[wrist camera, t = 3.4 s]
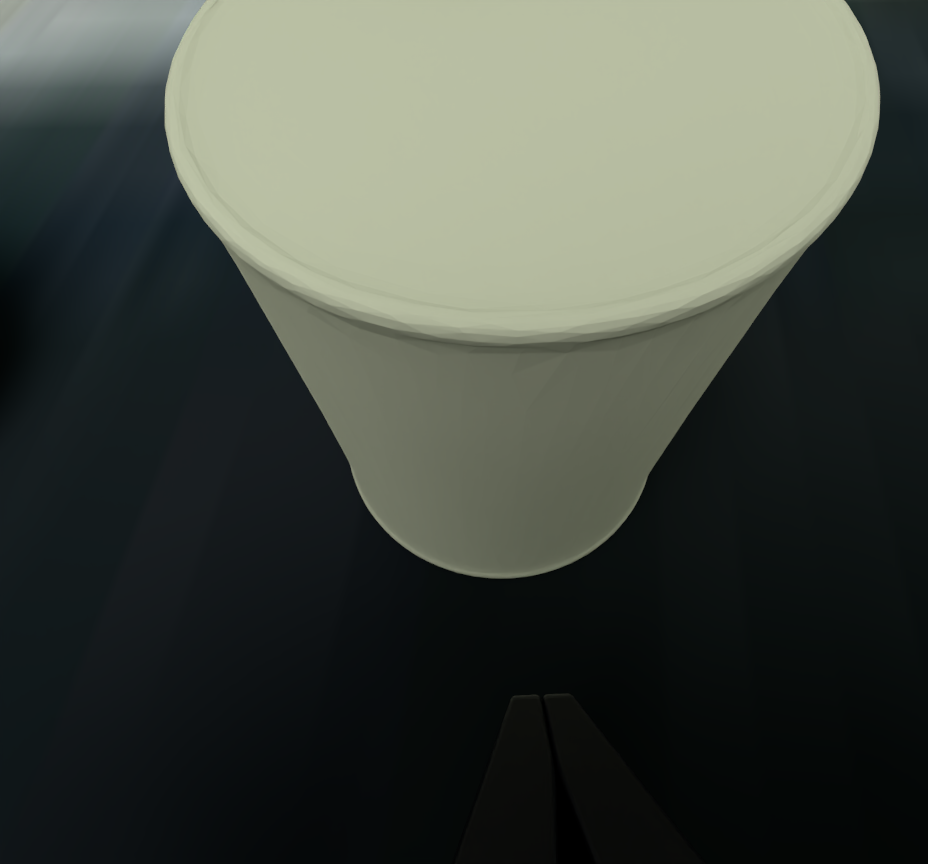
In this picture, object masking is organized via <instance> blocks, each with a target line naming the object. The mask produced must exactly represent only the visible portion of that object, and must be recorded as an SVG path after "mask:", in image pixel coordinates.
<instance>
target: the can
mask: <svg viewBox="0 0 928 864" xmlns="http://www.w3.org/2000/svg"><path fill="white" fill-rule="evenodd" d="M879 110H880V89H879V81H878V74H877V68H876V64H875V61H874V58H873V55H872V52H871V49H870V46H869V44H868V41H867V38H866V36H865V34H864V31H863V29H862V27H861V25H860V24H859V22H858V21H857V19H856V17H855V16H854V14H853V13H852V11H851V9H850V8H849V6H848V5H847V3H846V2H845V1H844V0H207V1H206V2H205V3H204V4H203V6H202V7H201V8H200V10H199V11H198V13H197V14H196V15H195V17H194V18H193V20H192V21H191V23H190V25H189V27H188V29H187V30H186V32H185V34H184V36H183V38H182V40H181V42H180V44H179V47H178V49H177V51H176V53H175V55H174V58H173V60H172V64H171V68H170V72H169V76H168V81H167V85H166V91H165V129H166V135H167V140H168V145H169V150H170V154H171V157H172V160H173V163H174V166H175V169H176V172H177V175H178V178H179V180H180V181H181V183H182V185H183V187H184V189H185V191H186V192H187V194H188V196H189V198H190V200H191V202H192V203H193V205H194V206H195V208H196V209H197V211H198V212H199V214H200V215H201V217H202V218H203V220H204V221H205V222H206V224H207V225H208V226H209V227H210V228H211V229H212V230H213V232H214V233H215V234H216V235H217V236H218V237H219V239H220V240H221V241H222V243H223V244H224V246H225V247H226V249H227V250H228V252H229V254H230V255H231V257H232V258H233V260H234V262H235V263H236V265H237V266H238V268H239V270H240V272H241V273H242V275H243V277H244V279H245V280H246V282H247V284H248V285H249V287H250V289H251V291H252V292H253V294H254V296H255V298H256V299H257V301H258V303H259V304H260V306H261V308H262V310H263V311H264V313H265V315H266V317H267V318H268V320H269V322H270V323H271V325H272V327H273V329H274V330H275V332H276V334H277V336H278V337H279V339H280V341H281V342H282V344H283V346H284V348H285V349H286V351H287V353H288V355H289V356H290V358H291V360H292V361H293V363H294V365H295V367H296V368H297V370H298V372H299V374H300V375H301V377H302V379H303V380H304V382H305V384H306V386H307V387H308V389H309V391H310V392H311V394H312V396H313V398H314V399H315V401H316V403H317V405H318V406H319V408H320V410H321V411H322V413H323V415H324V417H325V419H326V421H327V422H328V424H329V426H330V428H331V430H332V432H333V433H334V435H335V437H336V439H337V441H338V443H339V444H340V446H341V448H342V450H343V452H344V454H345V455H346V457H347V459H348V461H349V463H350V466H351V470H352V474H353V477H354V480H355V483H356V486H357V488H358V490H359V493H360V495H361V497H362V499H363V501H364V503H365V504H366V506H367V508H368V509H369V511H370V512H371V514H372V515H373V516H374V518H375V519H376V520H377V522H378V523H379V524H380V525H381V526H382V527H383V529H384V530H385V531H386V532H387V533H388V534H389V535H390V536H391V537H392V538H393V539H395V540H396V541H397V542H398V543H400V544H401V545H402V546H403V547H405V548H406V549H407V550H409V551H410V552H412V553H414V554H415V555H417V556H419V557H420V558H422V559H424V560H426V561H428V562H430V563H432V564H434V565H437V566H439V567H442V568H444V569H447V570H450V571H453V572H456V573H460V574H465V575H470V576H475V577H484V578H499V579H503V578H519V577H528V576H533V575H538V574H542V573H546V572H549V571H552V570H555V569H558V568H561V567H563V566H566V565H568V564H570V563H573V562H574V561H576V560H578V559H580V558H582V557H584V556H585V555H587V554H589V553H590V552H592V551H593V550H595V549H596V548H597V547H599V546H600V545H601V544H602V543H604V542H605V541H606V540H607V539H608V538H609V537H610V536H612V535H613V534H614V533H615V532H616V530H617V529H618V528H619V527H620V526H621V525H622V524H623V522H624V521H625V520H626V519H627V517H628V516H629V514H630V513H631V511H632V510H633V508H634V506H635V505H636V503H637V501H638V500H639V497H640V495H641V493H642V491H643V488H644V486H645V483H646V480H647V477H648V474H649V473H650V471H651V470H652V468H653V467H654V465H655V464H656V462H657V461H658V459H659V458H660V456H661V455H662V453H663V452H664V450H665V449H666V447H667V446H668V444H669V443H670V441H671V440H672V438H673V437H674V435H675V434H676V432H677V431H678V429H679V428H680V426H681V425H682V423H683V422H684V420H685V419H686V417H687V416H688V414H689V413H690V411H691V410H692V408H693V407H694V406H695V404H696V403H697V401H698V400H699V398H700V397H701V396H702V394H703V393H704V391H705V390H706V388H707V387H708V386H709V384H710V383H711V381H712V380H713V378H714V377H715V376H716V374H717V373H718V371H719V370H720V368H721V367H722V366H723V364H724V363H725V361H726V360H727V358H728V357H729V356H730V354H731V353H732V351H733V350H734V348H735V347H736V346H737V344H738V343H739V341H740V340H741V338H742V337H743V336H744V334H745V333H746V331H747V330H748V328H749V327H750V326H751V324H752V323H753V321H754V320H755V318H756V317H757V316H758V314H759V313H760V311H761V310H762V308H763V307H764V306H765V304H766V303H767V301H768V300H769V298H770V297H771V296H772V294H773V293H774V291H775V290H776V289H777V287H778V286H779V285H780V283H781V282H782V281H783V279H784V278H785V277H786V275H787V274H788V273H789V271H790V270H791V269H792V267H793V266H794V265H795V263H796V262H797V261H798V259H799V258H800V257H801V255H802V254H803V253H804V251H805V250H806V249H807V248H808V247H809V246H810V245H811V244H812V243H813V242H814V241H815V240H816V239H817V238H818V237H819V236H820V235H821V234H822V233H823V231H824V230H825V229H826V228H827V227H828V226H829V225H830V224H831V223H832V222H833V221H834V219H835V218H836V216H837V215H838V214H839V212H840V211H841V210H842V208H843V207H844V205H845V204H846V203H847V201H848V200H849V198H850V197H851V195H852V194H853V192H854V190H855V188H856V187H857V185H858V183H859V182H860V180H861V177H862V175H863V173H864V170H865V168H866V165H867V163H868V161H869V158H870V156H871V154H872V150H873V146H874V142H875V138H876V134H877V130H878V124H879Z"/></svg>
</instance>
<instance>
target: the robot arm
mask: <svg viewBox="0 0 928 864" xmlns="http://www.w3.org/2000/svg"><path fill="white" fill-rule="evenodd" d="M452 864H706V863H705V862H704V861H703V859H702V858H701V857H700V856H699V854H698V853H697V852H696V850H695V849H694V848H693V847H692V845H691V844H690V843H689V842H688V840H687V839H686V838H685V837H684V835H683V834H682V833H681V831H680V830H679V829H678V828H677V826H676V825H675V824H674V823H673V821H672V820H671V819H670V817H669V816H668V815H667V814H666V812H665V811H664V810H663V809H662V807H661V806H660V805H659V804H658V802H657V801H656V800H655V798H654V797H653V796H652V795H651V793H650V792H649V791H648V790H647V788H646V787H645V786H644V785H643V783H642V782H641V781H640V779H639V778H638V777H637V776H636V774H635V773H634V772H633V771H632V769H631V768H630V767H629V766H628V764H627V763H626V762H625V760H624V759H623V758H622V757H621V755H620V754H619V753H618V752H617V750H616V749H615V748H614V747H613V745H612V744H611V743H610V741H609V740H608V739H607V738H606V736H605V735H604V734H603V733H602V731H601V730H600V729H599V728H598V726H597V725H596V724H595V722H594V721H593V720H592V719H591V717H590V716H589V715H588V714H587V712H586V711H585V710H584V709H583V707H582V706H581V705H580V703H579V702H578V701H577V700H576V698H575V697H574V696H573V695H571V694H568V693H564V694H546V695H544V696H543V698H542V699H541V697H540V696H538V695H517V696H513V697H512V698H511V699H510V701H509V704H508V707H507V710H506V712H505V715H504V718H503V721H502V724H501V726H500V729H499V732H498V735H497V738H496V740H495V743H494V746H493V749H492V752H491V754H490V757H489V760H488V763H487V766H486V769H485V771H484V774H483V777H482V780H481V783H480V785H479V788H478V791H477V794H476V797H475V799H474V802H473V805H472V808H471V811H470V813H469V816H468V819H467V822H466V825H465V828H464V830H463V833H462V836H461V839H460V842H459V844H458V847H457V850H456V853H455V856H454V858H453V861H452Z"/></svg>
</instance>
